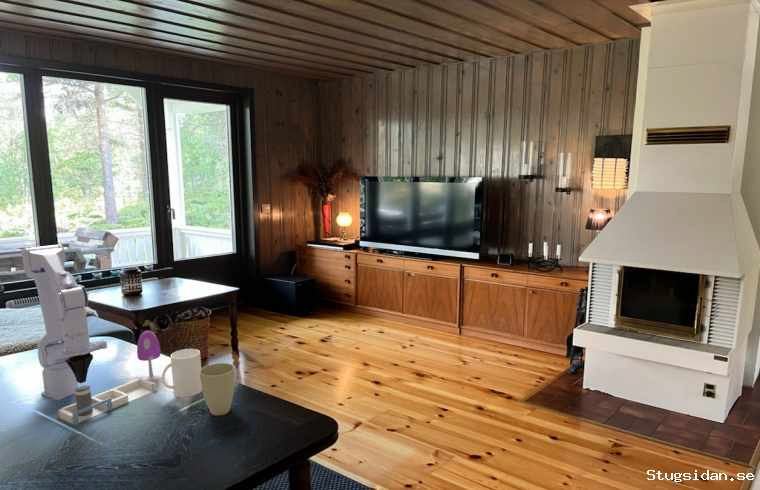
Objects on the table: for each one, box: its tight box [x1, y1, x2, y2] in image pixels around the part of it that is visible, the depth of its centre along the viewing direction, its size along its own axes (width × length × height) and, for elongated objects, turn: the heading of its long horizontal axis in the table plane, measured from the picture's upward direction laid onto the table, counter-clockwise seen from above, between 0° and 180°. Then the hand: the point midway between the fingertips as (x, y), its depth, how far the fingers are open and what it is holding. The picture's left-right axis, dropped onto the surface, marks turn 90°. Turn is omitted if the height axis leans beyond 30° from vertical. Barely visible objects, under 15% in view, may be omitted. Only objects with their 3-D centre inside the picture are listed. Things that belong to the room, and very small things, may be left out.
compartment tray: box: [56, 377, 158, 426], centre depth 147 cm, size 8×24×4 cm, turn 147°
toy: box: [136, 330, 161, 376], centre depth 166 cm, size 7×7×15 cm
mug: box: [161, 348, 203, 398], centre depth 153 cm, size 12×8×12 cm
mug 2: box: [200, 362, 236, 416], centre depth 143 cm, size 11×10×12 cm
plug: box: [74, 385, 93, 416], centre depth 141 cm, size 4×4×7 cm
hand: (81, 381), depth 140 cm, fingers closed
